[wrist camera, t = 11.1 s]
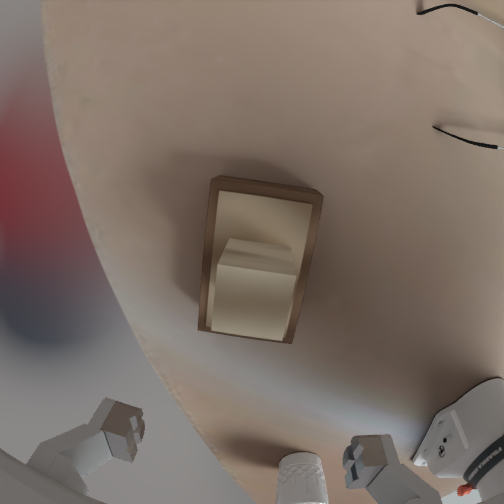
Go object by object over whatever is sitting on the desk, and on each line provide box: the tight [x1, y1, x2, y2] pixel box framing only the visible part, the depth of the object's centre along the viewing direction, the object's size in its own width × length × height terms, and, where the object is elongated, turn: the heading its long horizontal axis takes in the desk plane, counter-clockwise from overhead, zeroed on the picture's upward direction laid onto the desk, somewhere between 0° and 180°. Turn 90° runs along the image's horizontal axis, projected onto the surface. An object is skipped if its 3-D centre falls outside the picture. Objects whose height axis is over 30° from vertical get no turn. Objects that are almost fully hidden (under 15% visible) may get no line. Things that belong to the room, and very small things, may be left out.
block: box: [211, 238, 296, 341], centre depth 23 cm, size 5×5×6 cm
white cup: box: [276, 452, 329, 504], centre depth 36 cm, size 8×8×10 cm
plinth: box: [198, 176, 324, 344], centre depth 28 cm, size 14×9×4 cm, turn 172°
